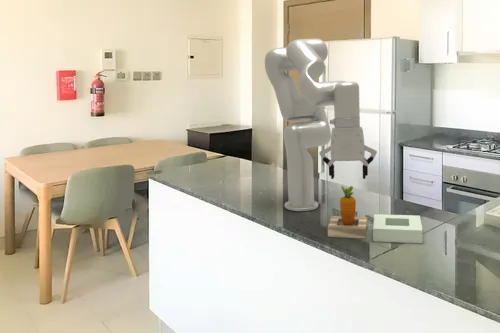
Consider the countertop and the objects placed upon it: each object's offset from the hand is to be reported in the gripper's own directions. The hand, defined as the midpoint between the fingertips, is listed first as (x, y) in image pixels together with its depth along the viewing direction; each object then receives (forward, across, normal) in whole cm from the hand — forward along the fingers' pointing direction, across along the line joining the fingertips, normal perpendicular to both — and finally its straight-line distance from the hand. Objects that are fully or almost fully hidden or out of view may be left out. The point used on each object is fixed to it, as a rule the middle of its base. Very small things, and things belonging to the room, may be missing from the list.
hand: (348, 177), depth 159 cm
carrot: (+18, -1, +1) cm, 18 cm away
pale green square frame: (+18, +14, 0) cm, 23 cm away
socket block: (+18, 0, +1) cm, 18 cm away
